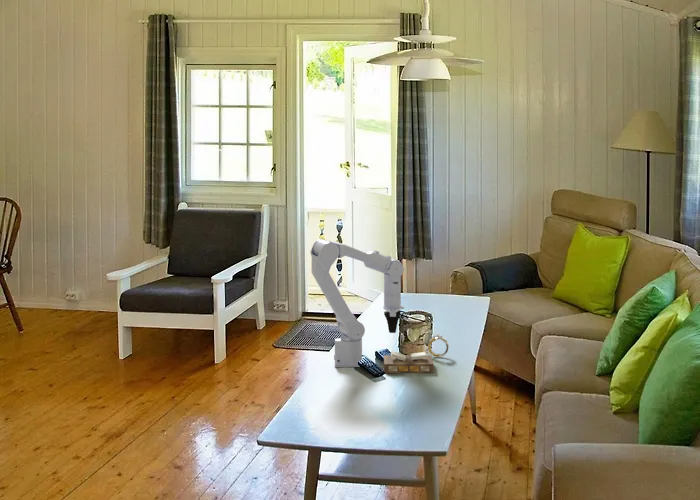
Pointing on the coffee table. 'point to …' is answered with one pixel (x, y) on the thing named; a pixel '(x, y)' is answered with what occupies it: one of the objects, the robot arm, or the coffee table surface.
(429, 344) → the ring
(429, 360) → the switch box
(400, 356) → the block
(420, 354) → the rocker right
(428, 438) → the coffee table surface
